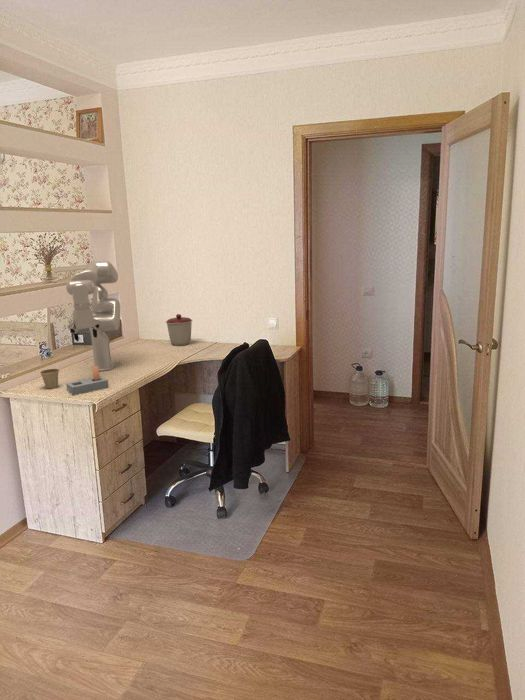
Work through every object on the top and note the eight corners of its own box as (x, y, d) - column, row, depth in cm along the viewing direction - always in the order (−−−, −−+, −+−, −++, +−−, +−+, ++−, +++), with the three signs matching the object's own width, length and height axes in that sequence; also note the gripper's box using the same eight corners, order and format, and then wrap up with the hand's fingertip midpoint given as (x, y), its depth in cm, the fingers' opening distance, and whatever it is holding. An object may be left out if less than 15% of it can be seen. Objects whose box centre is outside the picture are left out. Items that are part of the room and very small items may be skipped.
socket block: (101, 383, 281) (100, 376, 280) (108, 387, 273) (107, 380, 272) (67, 390, 271) (66, 383, 270) (73, 395, 263) (72, 387, 262)
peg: (99, 385, 277) (96, 365, 274) (101, 387, 274) (99, 366, 272) (93, 387, 275) (91, 366, 273) (95, 388, 273) (93, 367, 270)
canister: (199, 342, 369) (197, 312, 364) (182, 348, 354) (180, 317, 349) (179, 340, 378) (177, 311, 374) (162, 345, 364) (159, 315, 359)
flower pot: (38, 388, 277) (36, 372, 275) (54, 383, 285) (51, 367, 283) (49, 390, 272) (47, 374, 270) (65, 385, 280) (62, 369, 278)
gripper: (95, 303, 281) (99, 334, 286) (62, 308, 271) (67, 340, 276) (101, 305, 275) (104, 337, 280) (67, 310, 265) (72, 343, 270)
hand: (86, 338), depth 278 cm, fingers open, 9 cm apart
